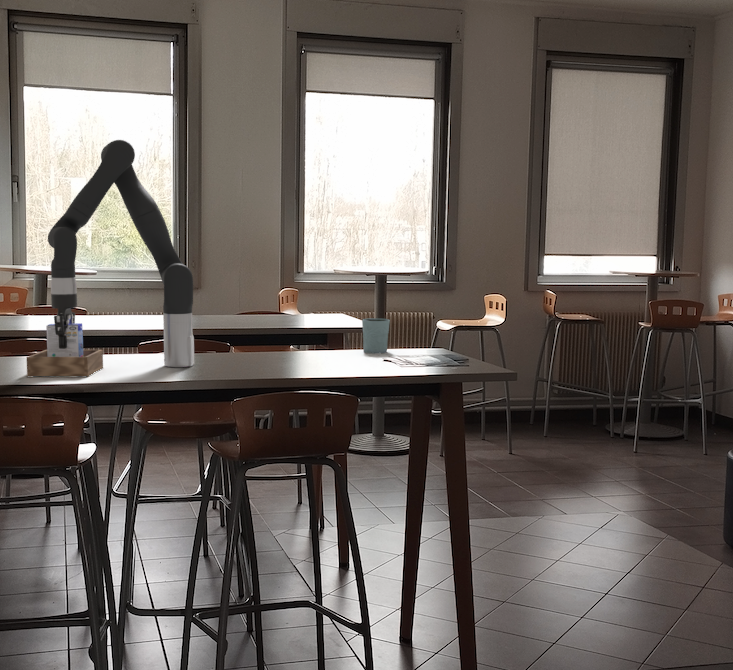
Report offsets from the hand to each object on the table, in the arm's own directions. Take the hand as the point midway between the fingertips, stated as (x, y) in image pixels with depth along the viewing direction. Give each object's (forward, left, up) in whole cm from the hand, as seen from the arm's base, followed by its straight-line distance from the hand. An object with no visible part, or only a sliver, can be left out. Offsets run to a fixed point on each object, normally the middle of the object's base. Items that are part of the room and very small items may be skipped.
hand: (65, 347), depth 281 cm
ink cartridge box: (0, 0, -5) cm, 5 cm away
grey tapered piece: (-98, -50, -8) cm, 110 cm away
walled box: (0, 0, -8) cm, 8 cm away
